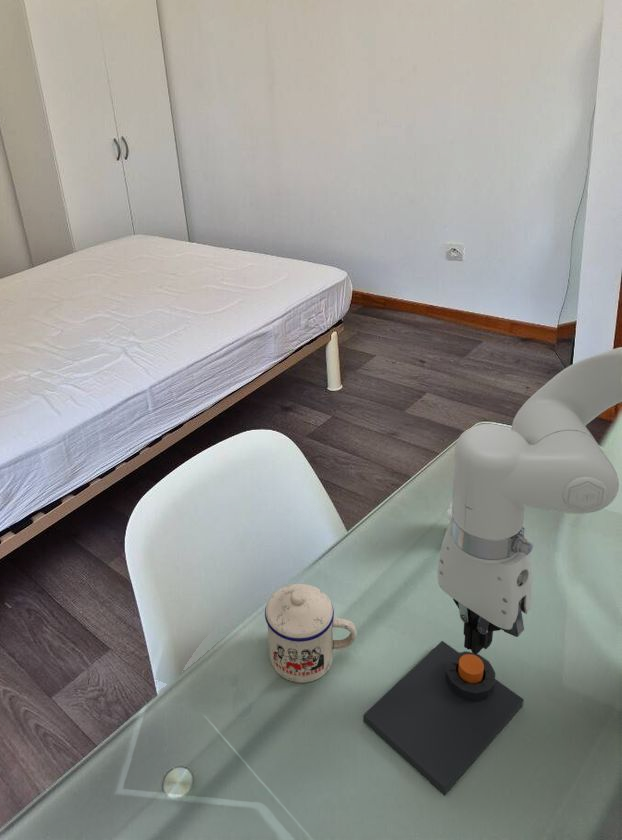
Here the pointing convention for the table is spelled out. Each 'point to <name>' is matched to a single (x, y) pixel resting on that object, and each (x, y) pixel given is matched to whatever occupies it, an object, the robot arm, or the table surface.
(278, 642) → the teacup with lid
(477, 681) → the button
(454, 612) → the table surface
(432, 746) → the black push button board
